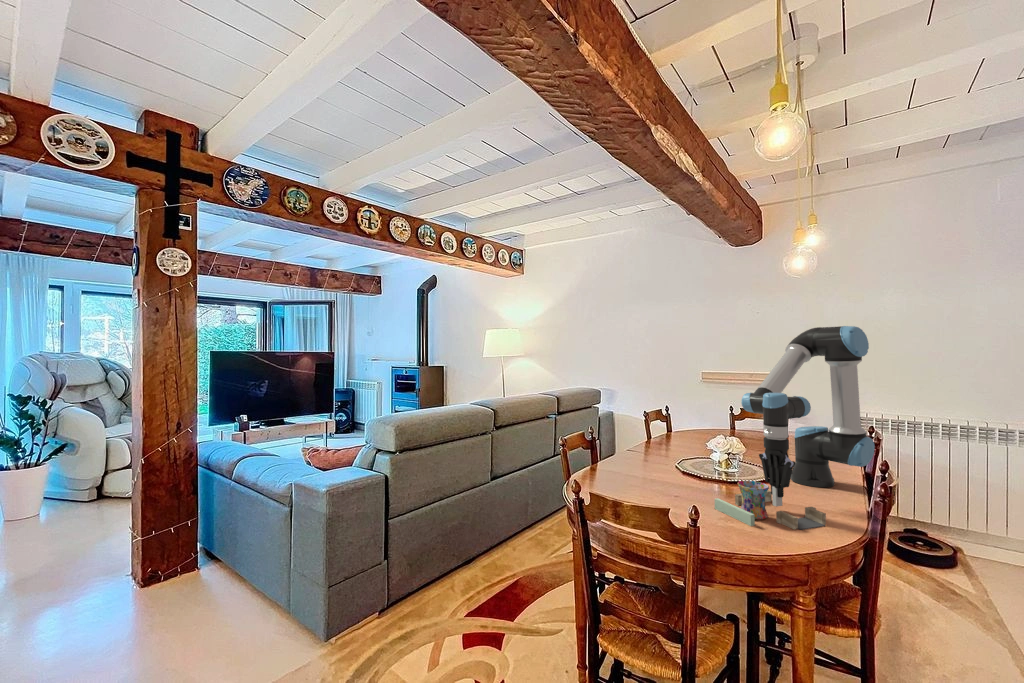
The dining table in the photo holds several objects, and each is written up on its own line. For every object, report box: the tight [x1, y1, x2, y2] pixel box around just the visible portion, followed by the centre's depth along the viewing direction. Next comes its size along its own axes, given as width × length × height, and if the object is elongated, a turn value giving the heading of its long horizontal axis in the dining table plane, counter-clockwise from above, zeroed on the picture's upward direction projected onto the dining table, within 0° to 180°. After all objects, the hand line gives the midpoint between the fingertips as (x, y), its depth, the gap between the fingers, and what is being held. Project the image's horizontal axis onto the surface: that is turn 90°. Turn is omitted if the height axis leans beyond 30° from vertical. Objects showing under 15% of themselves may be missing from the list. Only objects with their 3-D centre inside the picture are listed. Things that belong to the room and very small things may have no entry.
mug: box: [737, 480, 770, 520], centre depth 150 cm, size 12×9×11 cm
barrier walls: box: [734, 490, 827, 530], centre depth 151 cm, size 15×24×4 cm, turn 16°
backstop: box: [714, 497, 756, 527], centre depth 148 cm, size 2×16×4 cm, turn 16°
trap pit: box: [797, 516, 826, 531], centre depth 142 cm, size 10×7×1 cm
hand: (777, 505), depth 153 cm, fingers closed
